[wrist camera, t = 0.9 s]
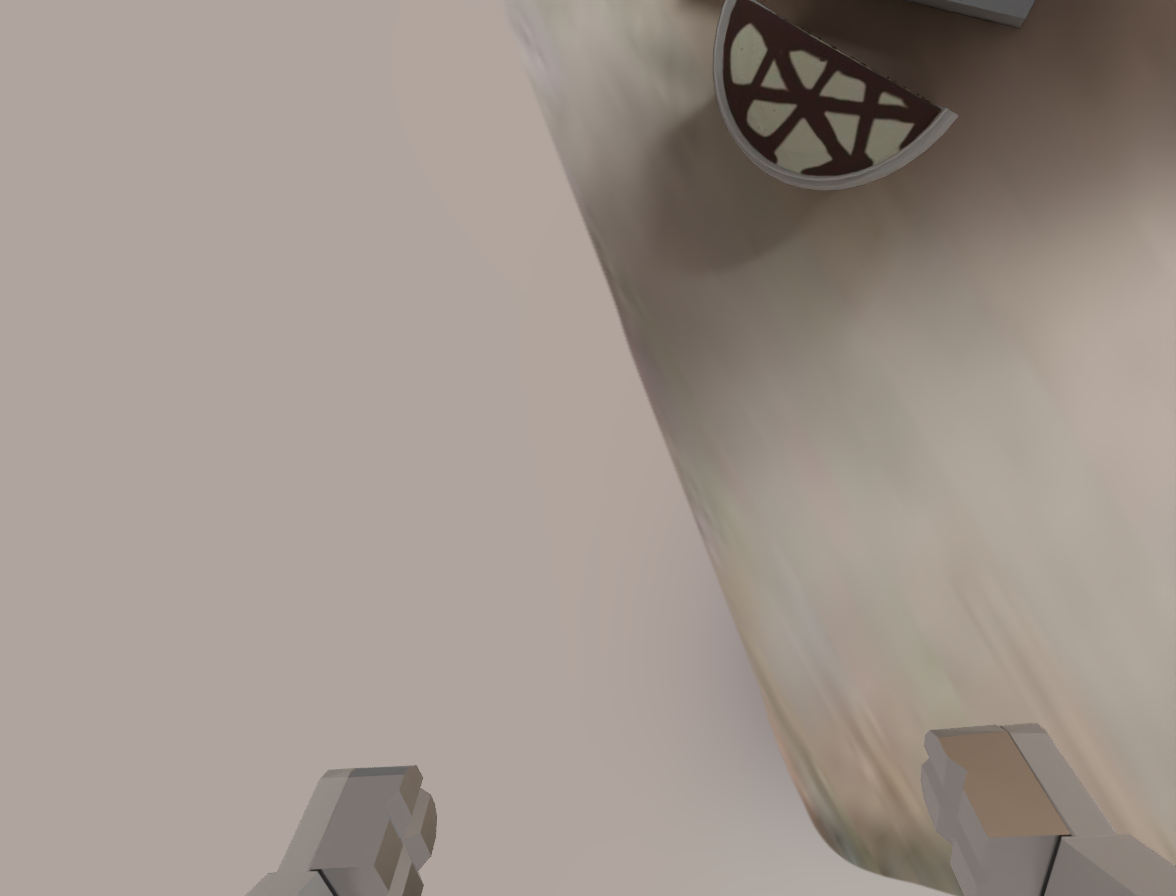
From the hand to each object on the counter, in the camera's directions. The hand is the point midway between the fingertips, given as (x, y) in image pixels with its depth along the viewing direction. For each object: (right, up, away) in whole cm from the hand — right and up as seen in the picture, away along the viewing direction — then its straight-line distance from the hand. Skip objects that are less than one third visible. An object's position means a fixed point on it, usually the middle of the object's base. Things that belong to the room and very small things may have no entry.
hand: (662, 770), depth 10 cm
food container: (+13, +25, +28) cm, 40 cm away
